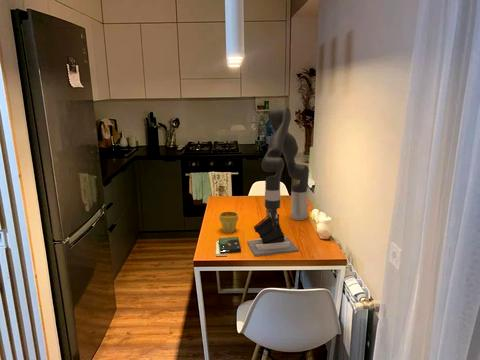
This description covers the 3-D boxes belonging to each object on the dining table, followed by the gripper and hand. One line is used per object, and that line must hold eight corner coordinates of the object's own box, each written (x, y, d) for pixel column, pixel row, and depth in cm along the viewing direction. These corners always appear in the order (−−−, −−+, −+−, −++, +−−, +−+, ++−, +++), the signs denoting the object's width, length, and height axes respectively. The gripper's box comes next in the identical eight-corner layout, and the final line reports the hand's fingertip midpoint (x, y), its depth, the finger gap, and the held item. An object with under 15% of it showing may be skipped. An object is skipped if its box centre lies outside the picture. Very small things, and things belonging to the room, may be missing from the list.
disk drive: (241, 253, 181) (237, 241, 195) (241, 248, 180) (237, 236, 194) (220, 255, 180) (218, 242, 194) (220, 249, 179) (218, 237, 193)
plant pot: (228, 235, 201) (228, 218, 199) (216, 230, 208) (215, 214, 206) (242, 230, 208) (241, 214, 206) (229, 225, 215) (229, 209, 213)
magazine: (290, 237, 182) (271, 215, 179) (270, 253, 184) (250, 231, 181) (289, 234, 186) (271, 212, 183) (269, 250, 188) (250, 229, 185)
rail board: (287, 238, 196) (287, 232, 195) (298, 251, 181) (298, 245, 180) (247, 243, 191) (247, 236, 190) (254, 256, 176) (254, 249, 175)
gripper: (284, 201, 173) (284, 234, 178) (275, 193, 187) (275, 224, 191) (269, 202, 172) (269, 236, 176) (261, 194, 186) (261, 225, 190)
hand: (272, 229), depth 184 cm, fingers open, 6 cm apart
